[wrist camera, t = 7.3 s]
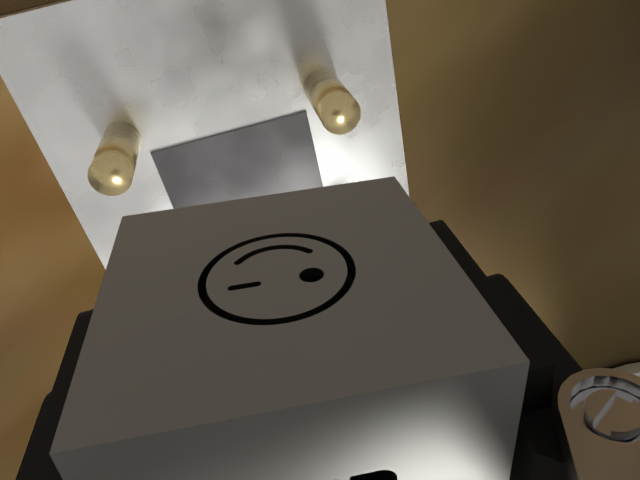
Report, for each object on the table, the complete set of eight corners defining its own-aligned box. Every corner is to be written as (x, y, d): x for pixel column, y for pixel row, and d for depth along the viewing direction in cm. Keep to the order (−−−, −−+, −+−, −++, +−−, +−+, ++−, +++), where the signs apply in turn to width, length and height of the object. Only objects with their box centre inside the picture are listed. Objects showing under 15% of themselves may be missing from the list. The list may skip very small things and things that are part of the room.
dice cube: (394, 176, 10) (530, 361, 6) (395, 368, 13) (488, 594, 8) (122, 216, 9) (49, 452, 5) (181, 409, 12) (165, 672, 8)
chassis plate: (368, -77, 19) (409, -73, 15) (416, 297, 29) (449, 354, 25) (-17, 19, 18) (-71, 47, 15) (167, 369, 28) (163, 439, 25)
